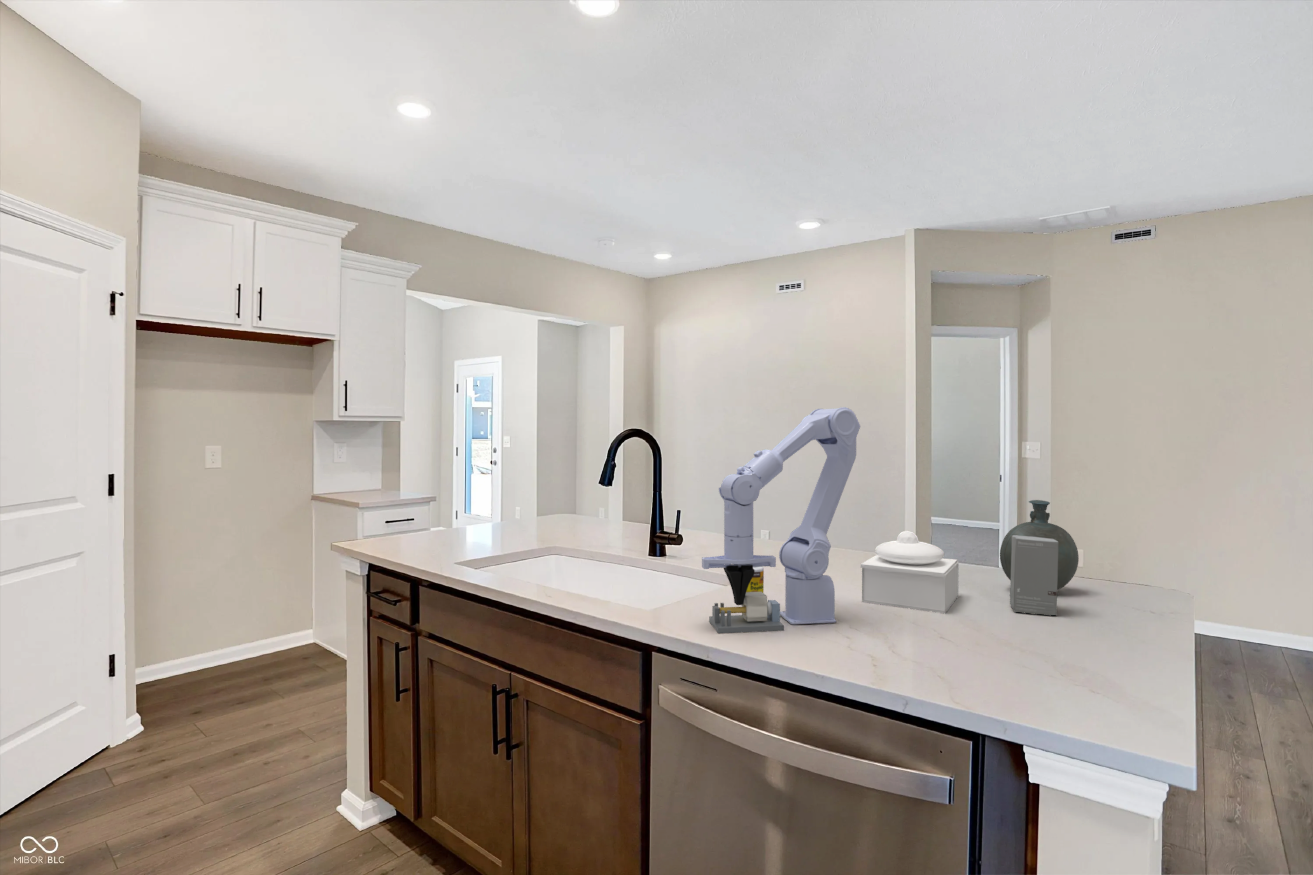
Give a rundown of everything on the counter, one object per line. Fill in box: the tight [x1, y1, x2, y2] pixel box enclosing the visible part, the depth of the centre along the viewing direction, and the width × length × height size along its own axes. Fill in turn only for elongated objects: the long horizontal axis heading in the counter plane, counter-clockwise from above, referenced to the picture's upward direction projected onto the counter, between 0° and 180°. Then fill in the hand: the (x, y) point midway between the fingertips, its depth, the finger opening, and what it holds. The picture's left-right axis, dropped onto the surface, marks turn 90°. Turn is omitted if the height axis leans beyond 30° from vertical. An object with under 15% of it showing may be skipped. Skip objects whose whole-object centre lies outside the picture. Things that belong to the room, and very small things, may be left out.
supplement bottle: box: [746, 566, 765, 593], centre depth 147 cm, size 6×6×10 cm
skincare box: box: [1009, 535, 1058, 616], centre depth 140 cm, size 8×7×16 cm
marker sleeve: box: [741, 591, 768, 621], centre depth 129 cm, size 4×4×5 cm
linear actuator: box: [708, 599, 785, 634], centre depth 129 cm, size 13×8×4 cm, turn 98°
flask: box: [999, 499, 1079, 591], centre depth 156 cm, size 12×17×22 cm
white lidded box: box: [860, 530, 960, 614], centre depth 150 cm, size 18×18×16 cm
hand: (738, 603), depth 129 cm, fingers closed
